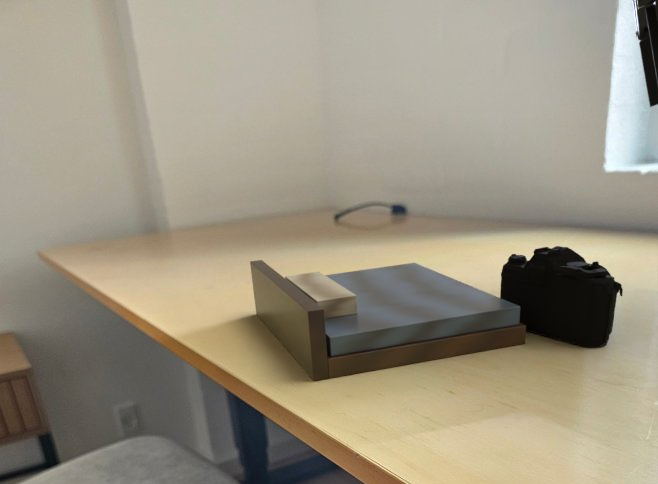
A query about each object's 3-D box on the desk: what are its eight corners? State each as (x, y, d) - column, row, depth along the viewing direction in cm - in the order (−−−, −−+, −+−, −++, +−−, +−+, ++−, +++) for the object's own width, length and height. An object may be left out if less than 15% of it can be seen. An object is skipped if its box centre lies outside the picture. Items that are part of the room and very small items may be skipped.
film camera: (653, 332, 70) (667, 245, 66) (590, 352, 66) (600, 261, 62) (544, 305, 82) (551, 231, 78) (486, 321, 78) (489, 243, 74)
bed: (416, 289, 94) (416, 239, 91) (525, 343, 70) (529, 277, 67) (256, 313, 89) (249, 261, 86) (313, 381, 65) (307, 311, 61)
